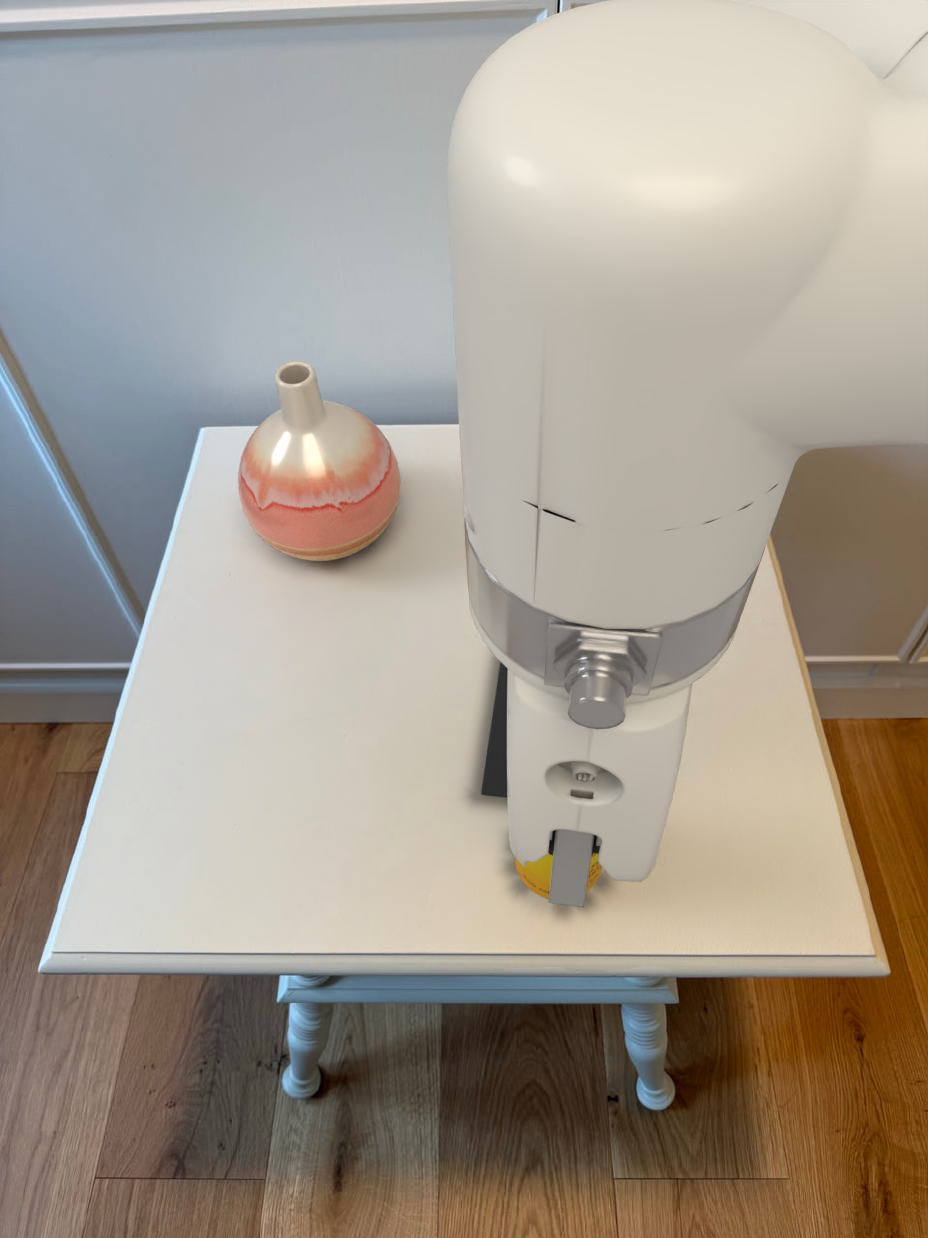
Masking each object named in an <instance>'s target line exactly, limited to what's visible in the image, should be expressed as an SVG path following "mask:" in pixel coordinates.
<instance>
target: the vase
mask: <svg viewBox="0 0 928 1238" xmlns="http://www.w3.org/2000/svg"><path fill="white" fill-rule="evenodd" d="M316 373H317V372H316V370H315V368H314V367H313V366H312V365H311V364H310V363H308V362H305V361H303V360H302V361H301V360H293V361H289V362H286V363H284V364H282V365H281V366H279V367H278V368H277V369H276V371H275V374H274V382H275V387H276V391H277V396H278V401H279V406H280V408H279V409H278V410H276V411H274V412H272V414H270V415H269V416H268V417H266V419H264V420H263V421H262V422H261V423H260V424H259V425H258V426H257V427H256V428H255V430H254V431H253V432H252V434H251V435H250V437H249V438H248V440H247V441H246V443H245V446H244V448H243V451H242V454H241V456H240V460H239V465H238V471H237V489H238V496H239V501H240V504H241V508H242V511H243V513H244V515H245V517H246V519H247V521H248V523H249V525H250V527H251V528H252V529H253V531H254V532H255V533H256V534H257V536H259V537H260V538H261V540H263V541H264V542H265V543H266V544H268V545H269V546H270V547H271V548H273V549H275V550H277V551H279V552H280V553H282V554H285V555H288V556H290V557H293V558H295V559H299V560H303V561H304V560H305V561H314V562H324V561H325V562H327V561H334V560H339V559H343V558H346V557H349V556H351V555H353V554H357V553H358V552H360V551H362V550H364V549H365V548H367V547H368V546H369V545H371V544H372V543H374V541H376V540H377V539H378V538H379V537H380V536H381V535H382V534H383V533H384V532H385V531H386V529H387V527H388V526H389V524H390V523H391V522H392V520H393V518H394V516H395V514H396V511H397V509H398V505H399V501H400V497H401V488H402V487H401V484H402V483H401V474H400V468H399V461H398V460H397V457H396V454H395V452H394V449H393V447H392V445H391V444H390V442H389V440H388V439H387V437H386V436H385V434H384V433H383V432H382V430H381V429H380V427H378V426H377V425H376V423H374V422H373V421H372V420H371V419H370V418H369V417H367V416H366V415H364V414H363V413H361V412H359V411H358V410H356V409H354V408H352V407H350V406H348V405H345V404H342V403H338V402H335V401H331V400H324V399H323V398H322V394H321V389H320V385H319V382H318V377H317V374H316Z"/></svg>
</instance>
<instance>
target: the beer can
mask: <svg viewBox="0 0 928 1238" xmlns="http://www.w3.org/2000/svg"><path fill="white" fill-rule="evenodd" d="M552 860H553V856H552V855H550V854H549V853H548V854H547V855H546V856H544V857H543V858H541V859H540V860H538V861H537V862H535V863H534V862H529V861H527V865H526V867H524V866H523V865H522V864H521V863H520V862H519V861H518V860H517V859H516V857H515V856H514V865H515V868H516V871H517V875H518V876H519V878H520V879H521V881H522V882H523V883H524V884H525V886H526V887H527V888H528V889H529V890H531V891H532V892H533V893H535V894H536V895H538V896H540V897H542V898H544V899H548V900H549V892H550V881H551V870H552ZM602 869H603V867H602V866H601V865H600V864H599V862H598V854H596V853H593V856H591V862H590V869H589V876H588V882H587V889H586V893H587V892H589V891H590V890H591V889H592V888H593V887H594V885H596V883H597V881H598V879H599V877H600V875H601V873H602Z"/></svg>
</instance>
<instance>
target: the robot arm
mask: <svg viewBox="0 0 928 1238" xmlns="http://www.w3.org/2000/svg"><path fill="white" fill-rule="evenodd" d="M446 154H447V155H446V156H447V157H446V160H447V162H446V165H447V166H446V167H447V171H446V172H447V173H446V174H447V175H446V177H447V178H446V189H447V190H446V197H447V198H446V200H447V202H446V203H447V223H448V224H447V226H448V244H449V264H450V277H451V278H450V279H451V281H450V282H451V298H452V300H451V301H452V316H453V337H454V355H455V375H456V394H457V395H456V396H457V413H458V414H457V415H458V428H459V429H458V430H459V431H458V432H459V449H460V450H459V451H460V466H461V467H460V468H461V469H460V470H461V471H460V472H461V486H462V487H461V488H462V491H461V492H462V506H463V507H462V509H463V526H464V527H463V528H464V543H465V547H464V548H465V563H466V565H465V566H466V582H467V595H468V605H469V606H468V607H469V612H470V615H471V618H472V621H473V624H474V626H475V628H476V631H477V632H478V634H479V636H480V638H481V640H482V641H483V643H484V644H485V646H486V647H487V648H488V649H489V651H490V652H491V653H492V655H493V656H494V657H495V658H496V659H497V661H499V663H500V662H501V663H502V664H504V665H505V666H506V667H507V668H508V677H507V797H508V798H507V821H508V822H507V823H508V825H507V826H508V827H507V828H508V841H509V849H510V850H511V853H512V855H513V856H514V858H515V857H516V859H517V860H518V861H519V862H520V863H521V864H522V865H523V866H524V867H526V865H527V861H529V862H534V863H535V862H537V861H538V860H540V859H541V858H543V857H544V856H546V855H547V854H548V853H549V854H550V855H552V856H553V860H552V870H551V881H550V892H549V899H548V903H549V904H553V905H563V906H570V907H576V908H584V907H585V903H586V902H585V901H586V896H587V895H586V894H587V892H586V889H587V882H588V876H589V869H590V862H591V856H593V853H596V854H598V862H599V864H600V865H601V866H602V869H603V870H604V871H605V872H606V873H607V875H608V876H609V877H610V878H611V879H613V880H614V881H616V882H626V883H627V882H629V883H630V882H631V883H633V882H634V883H642V882H643V881H645V880H647V878H649V877H650V875H651V874H652V873H653V872H654V870H655V869H656V865H657V862H658V858H659V854H660V849H661V846H662V843H663V838H664V833H665V831H666V826H667V823H668V818H669V814H670V810H671V806H672V801H673V797H674V793H675V789H676V785H677V780H678V775H679V770H680V766H681V760H682V755H683V750H684V744H685V739H686V738H685V737H686V733H687V726H688V720H689V719H688V718H689V714H690V713H689V712H690V705H691V699H692V691H693V685H694V684H693V683H695V682H696V681H698V680H700V679H701V678H703V677H704V676H705V675H706V674H707V673H709V671H710V670H712V668H713V667H715V666H716V665H717V664H718V663H719V661H720V660H721V659H722V657H723V656H724V655H725V654H726V652H727V651H728V649H729V647H730V645H731V644H732V641H733V640H734V637H735V635H736V633H737V630H738V627H739V625H740V621H741V617H742V615H743V612H744V610H745V607H746V604H747V601H748V598H749V595H750V592H751V590H752V587H753V584H754V582H755V579H756V577H757V573H758V570H759V567H760V564H761V562H762V559H763V556H764V554H765V551H766V547H767V546H766V545H767V543H768V540H769V537H770V535H771V532H772V529H773V526H774V523H775V521H776V519H777V515H778V512H779V510H780V507H781V504H782V501H783V498H784V496H785V492H786V489H787V487H788V484H789V481H790V479H791V476H792V473H793V470H794V468H795V464H796V463H797V461H798V460H799V458H800V457H802V456H803V455H804V454H806V453H808V452H811V451H813V450H819V449H833V448H834V449H835V448H848V447H873V446H875V447H876V446H904V445H905V446H906V445H928V0H603V1H598V2H593V3H589V4H584V5H580V6H576V7H572V8H570V9H567V10H564V11H561V12H557V13H554V14H552V15H549V16H548V17H545V18H543V19H541V20H539V21H537V22H533V23H531V24H530V25H528V26H527V27H525V28H524V29H522V30H521V31H519V32H518V33H516V34H514V35H513V36H511V37H509V38H508V39H507V40H506V41H505V42H504V43H502V44H501V45H500V46H499V47H498V48H497V49H496V50H494V52H492V53H491V54H490V55H488V57H487V58H486V59H485V61H484V62H483V63H482V64H481V66H480V67H479V68H478V70H477V71H476V73H475V74H474V76H473V77H472V79H471V80H470V81H469V83H468V85H467V86H466V88H465V89H464V92H463V95H462V97H461V100H460V103H459V104H458V107H457V109H456V113H455V116H454V119H453V122H452V124H451V130H450V135H449V141H448V147H447V153H446Z"/></svg>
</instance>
